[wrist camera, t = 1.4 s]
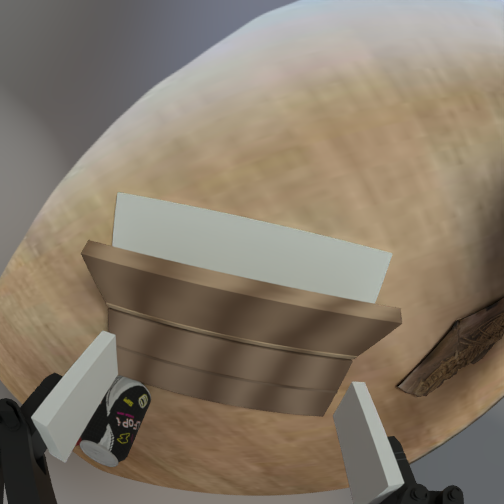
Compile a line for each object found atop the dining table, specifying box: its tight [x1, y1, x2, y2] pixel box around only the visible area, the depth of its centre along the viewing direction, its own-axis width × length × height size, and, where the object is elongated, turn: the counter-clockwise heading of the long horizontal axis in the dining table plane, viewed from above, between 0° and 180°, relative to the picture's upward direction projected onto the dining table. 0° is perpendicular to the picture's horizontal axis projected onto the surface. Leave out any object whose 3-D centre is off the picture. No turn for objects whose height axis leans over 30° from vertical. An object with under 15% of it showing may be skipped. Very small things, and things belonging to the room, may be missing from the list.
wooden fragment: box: [395, 298, 504, 397], centre depth 28 cm, size 26×11×1 cm, turn 119°
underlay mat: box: [112, 192, 392, 304], centre depth 28 cm, size 27×20×1 cm
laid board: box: [108, 308, 352, 417], centre depth 29 cm, size 26×9×2 cm, turn 78°
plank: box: [81, 240, 402, 359], centre depth 24 cm, size 26×9×2 cm
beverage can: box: [80, 375, 151, 467], centre depth 26 cm, size 6×6×12 cm
